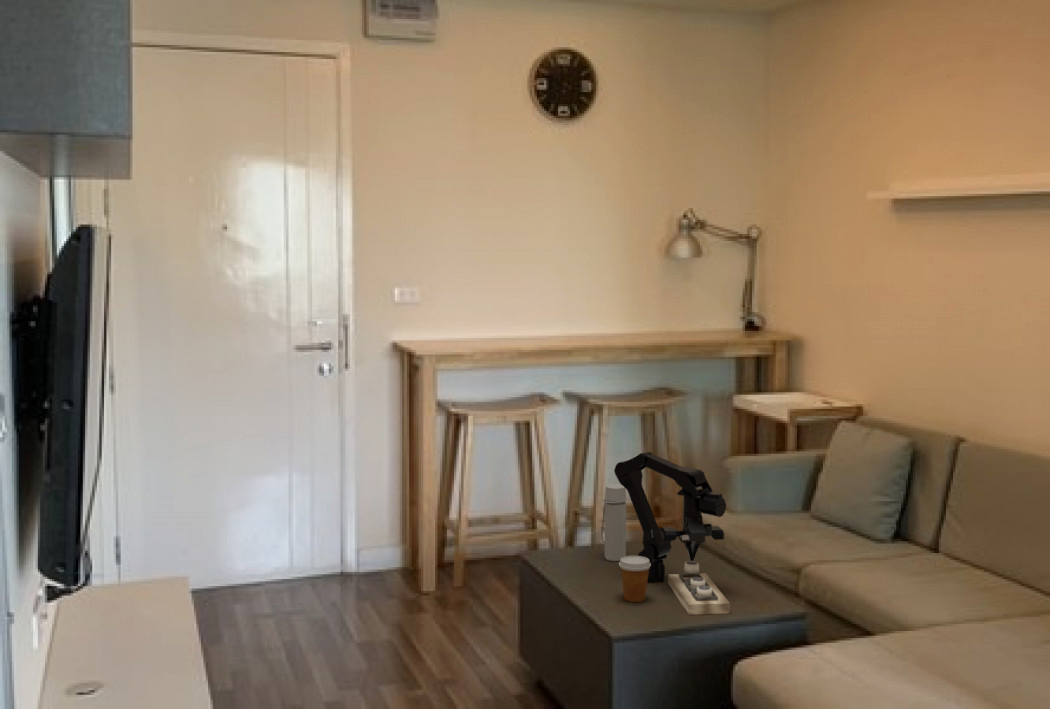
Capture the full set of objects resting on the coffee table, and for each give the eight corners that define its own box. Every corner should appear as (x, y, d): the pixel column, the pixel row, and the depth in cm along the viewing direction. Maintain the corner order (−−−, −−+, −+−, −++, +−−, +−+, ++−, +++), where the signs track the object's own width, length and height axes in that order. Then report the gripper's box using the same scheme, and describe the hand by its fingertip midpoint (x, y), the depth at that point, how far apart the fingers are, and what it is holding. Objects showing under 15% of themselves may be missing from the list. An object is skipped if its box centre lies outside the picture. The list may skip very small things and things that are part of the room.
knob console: (688, 614, 307) (688, 601, 307) (668, 583, 335) (668, 571, 335) (729, 613, 308) (729, 599, 308) (705, 582, 336) (706, 570, 336)
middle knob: (692, 590, 319) (692, 581, 319) (688, 585, 323) (689, 576, 323) (706, 589, 319) (706, 580, 319) (703, 585, 324) (703, 576, 323)
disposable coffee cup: (629, 606, 315) (630, 566, 314) (612, 596, 323) (612, 557, 322) (656, 600, 319) (657, 561, 318) (639, 591, 328) (639, 553, 326)
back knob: (686, 573, 327) (686, 564, 326) (683, 569, 331) (683, 560, 331) (700, 573, 327) (700, 564, 327) (697, 568, 331) (697, 559, 331)
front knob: (698, 599, 311) (698, 589, 311) (695, 594, 315) (695, 584, 315) (713, 598, 311) (713, 589, 311) (709, 593, 316) (709, 584, 315)
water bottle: (630, 558, 362) (631, 485, 359) (617, 563, 356) (618, 490, 353) (607, 553, 368) (608, 482, 365) (595, 558, 362) (595, 486, 359)
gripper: (667, 518, 318) (667, 569, 320) (729, 517, 320) (728, 567, 321) (660, 509, 329) (659, 558, 331) (719, 507, 331) (718, 557, 332)
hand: (691, 560), depth 329 cm, fingers closed
